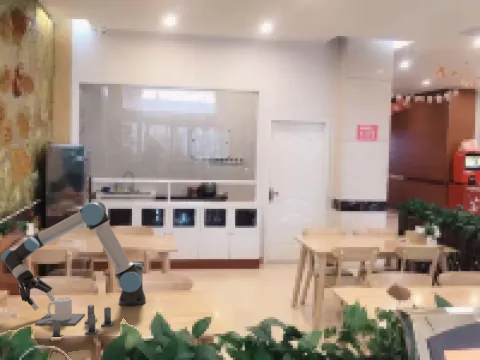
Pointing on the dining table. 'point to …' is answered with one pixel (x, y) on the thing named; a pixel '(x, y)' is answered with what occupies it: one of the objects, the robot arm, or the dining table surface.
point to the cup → (62, 308)
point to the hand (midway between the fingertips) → (46, 305)
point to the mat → (49, 320)
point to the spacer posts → (88, 322)
